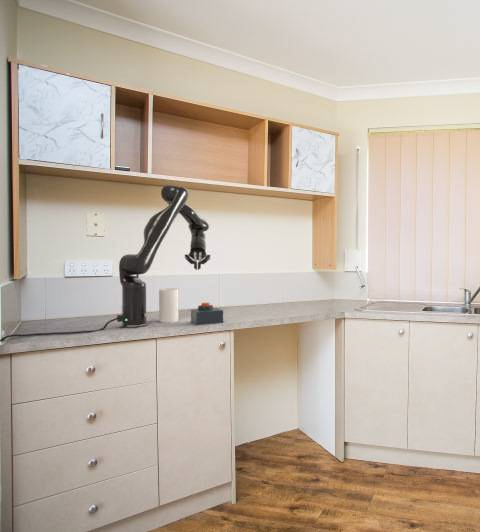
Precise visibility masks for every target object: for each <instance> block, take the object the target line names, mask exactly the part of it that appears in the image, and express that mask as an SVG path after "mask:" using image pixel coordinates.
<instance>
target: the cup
mask: <svg viewBox="0 0 480 532" xmlns="http://www.w3.org/2000/svg"><path fill="white" fill-rule="evenodd" d="M178 321H179V288H159V289H158V322H159V323H175V322H178Z"/></svg>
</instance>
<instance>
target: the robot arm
mask: <svg viewBox="0 0 480 532" xmlns="http://www.w3.org/2000/svg"><path fill="white" fill-rule="evenodd" d="M160 196H161V199H162V200H163V201H164V202H165V203H166V204H167V206H166V207H165V208H163V209H162V210H160V211H158V212H156V213H154V215H152V216H151V217H150V218H149V220H148V221H147V223H146V225H145V226H144V229H143V245H142V246H141V248H140V250H139V251H138V253H137V254H130V253H129V254H124V255H123V256H122V257H121V258H120V260H119V263H118V273H119V282H120V285H121V314H116V318H113V319H110V320H108V321H107V322H106V323H105V324H104V326H103V327H102V328H99V329H95V330H80V331H79V330H78V331H61V332H60V331H59V332H38V333H27V334H8V335H6V336H4V337H2V338H1V339H0V342H3V341H4V340H6V339H8V338H12V337H31V336H32V337H34V336H47V335H48V336H51V335H53V336H54V335H70V334H72V335H73V334H84V333H85V334H86V333H95V332H99V331H103V330H105V329H106V328H107V326H108V325H109V324H110V323H112V322H114V321H116V322H117V323H121V327H122V329H125V328H127V329H128V328H140V327H146V326H147V317H148V313H147V283H146V282H145V281H143V280H142V279H141V277H140V275H144V274H146V273H147V272H148V271H149V270H150V269H151V266H152V265H153V262H154V259H155V257H156V255H157V252H158V250H159V248H160V247H161V244H162V242H163V241H164V239H165V237H166V236H167V234H168V232H169V230H170V228H171V226H172V225H173V223H174V221H175V219H176V217H177V215H178V214H179V215H181V217H182V218H183V219H184V220H185V222H187V224H188V230H189V232H190V235H191V236H190V237H191V239H190V246H189V247H190V250H189V253H188V254H187V253H186V254H184V259H185V260H186V261H187V262H188V263H189V264H190V265H193V269H194V270H196V271H198V270H200V269H201V268H202V267H201V266H202V265H206V263H208V261H209V260H211V254H207V252H206V250H207V249H206V247H207V245H206V244H207V243H206V233H205V232H207V231H208V230H209V229H210V225H209V222H208V221H207V220H206V219H205V218H204V217H202V216H200V215H199V214H198V213H197V211H196V210H195V209H194V208H193V207H191V206H190V205H189V204H187V201H188V198H189V190H188V189H187V188H186V187H183V186H180V185H179V186H178V185H175V184H174V185H173V184H165V185H164V186H163V187H162V188H161V190H160Z"/></svg>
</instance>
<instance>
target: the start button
mask: <svg viewBox="0 0 480 532" xmlns="http://www.w3.org/2000/svg"><path fill="white" fill-rule="evenodd" d="M200 305H201V306H210V305H211V304H210V302H201V304H200Z"/></svg>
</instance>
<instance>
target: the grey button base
mask: <svg viewBox="0 0 480 532" xmlns="http://www.w3.org/2000/svg"><path fill="white" fill-rule="evenodd" d="M190 323H192V324H194V325H196V326H203V325H214V324H224V309H221V308H218V307H214V305H213V304H210V306H201V304H200V305H198V306H197V308H194V309H190Z"/></svg>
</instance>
